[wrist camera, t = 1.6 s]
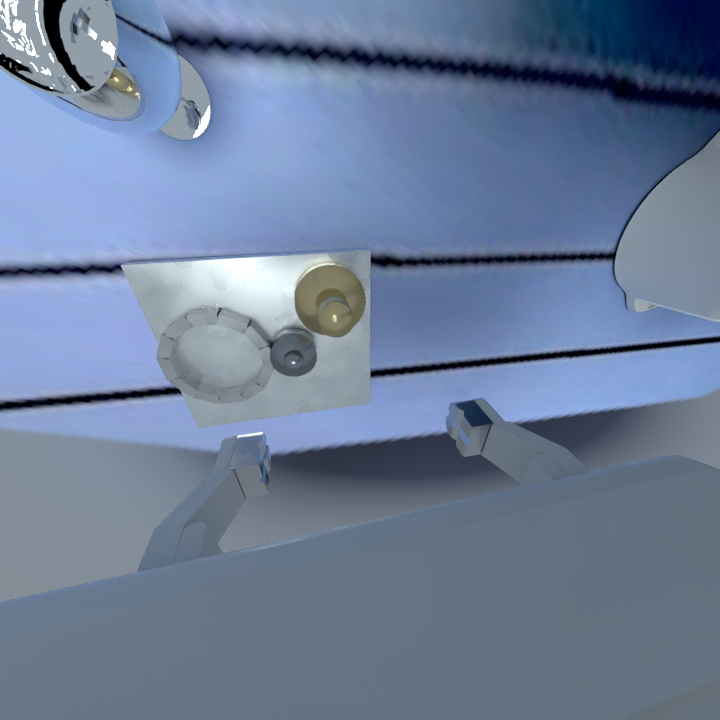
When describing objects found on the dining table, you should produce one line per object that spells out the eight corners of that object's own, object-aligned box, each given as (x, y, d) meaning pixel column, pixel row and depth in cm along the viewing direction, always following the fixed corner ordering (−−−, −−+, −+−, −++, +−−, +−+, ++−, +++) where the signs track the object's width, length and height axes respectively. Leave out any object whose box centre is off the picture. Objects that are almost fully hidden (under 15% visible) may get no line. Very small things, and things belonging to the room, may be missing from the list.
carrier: (367, 247, 25) (379, 258, 22) (368, 396, 35) (376, 421, 32) (128, 261, 22) (95, 276, 19) (201, 420, 32) (189, 450, 29)
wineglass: (239, 134, 20) (179, 82, 10) (165, 165, 20) (32, 146, 10) (184, 15, 16) (8, -246, 6) (96, 54, 16) (-206, -143, 7)
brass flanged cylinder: (361, 259, 25) (376, 276, 20) (363, 324, 28) (377, 351, 23) (288, 265, 24) (287, 284, 19) (300, 332, 27) (301, 361, 23)
